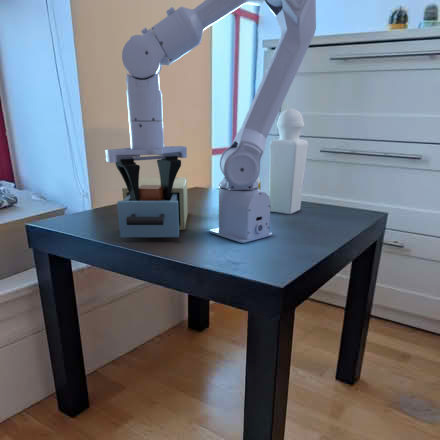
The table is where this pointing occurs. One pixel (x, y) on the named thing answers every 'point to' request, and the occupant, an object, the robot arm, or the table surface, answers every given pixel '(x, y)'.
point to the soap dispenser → (287, 164)
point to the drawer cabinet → (178, 187)
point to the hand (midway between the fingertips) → (150, 201)
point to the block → (151, 193)
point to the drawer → (149, 217)
